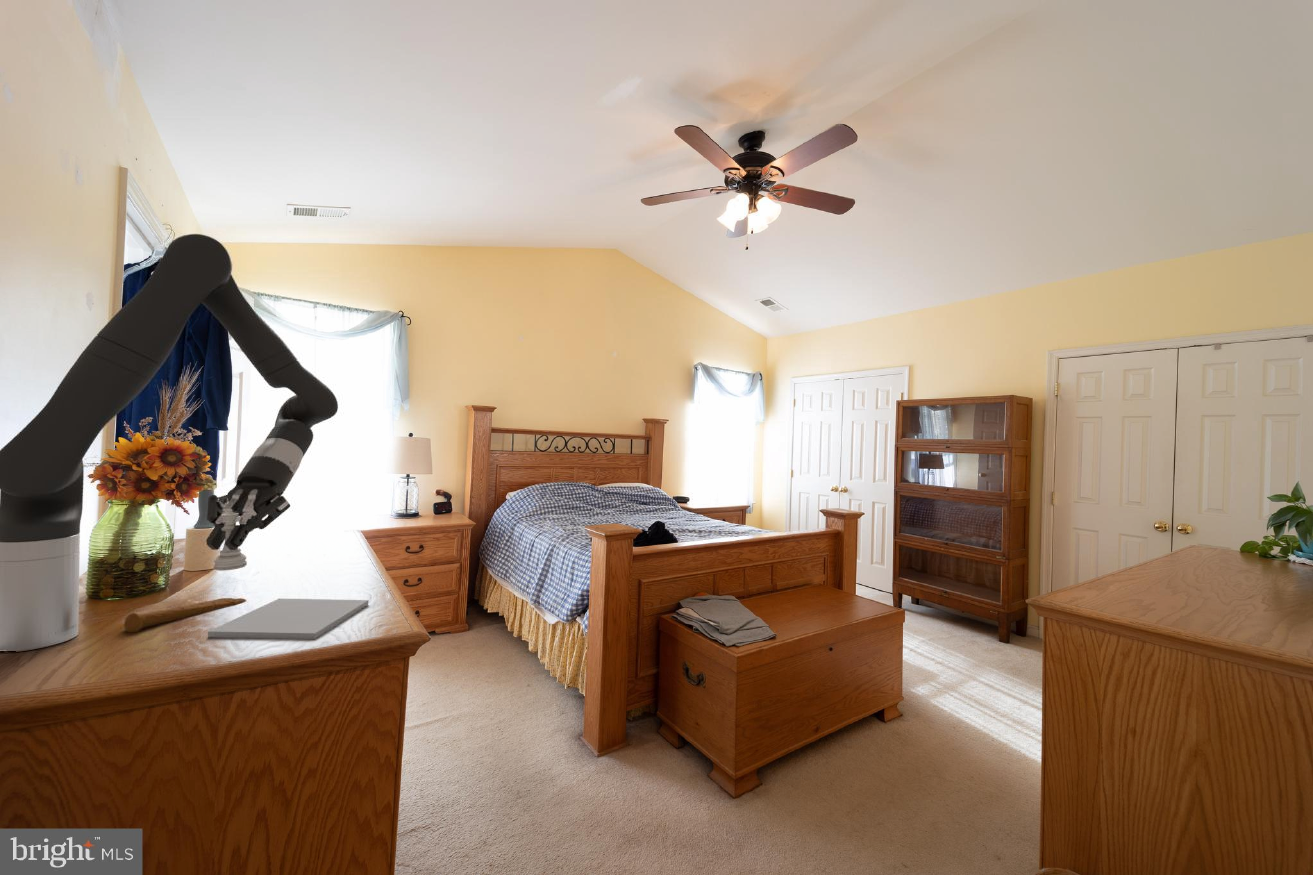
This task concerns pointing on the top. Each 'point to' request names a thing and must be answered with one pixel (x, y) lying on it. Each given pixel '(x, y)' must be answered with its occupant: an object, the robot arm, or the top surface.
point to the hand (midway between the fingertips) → (221, 546)
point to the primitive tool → (175, 613)
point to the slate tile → (290, 619)
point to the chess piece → (228, 557)
